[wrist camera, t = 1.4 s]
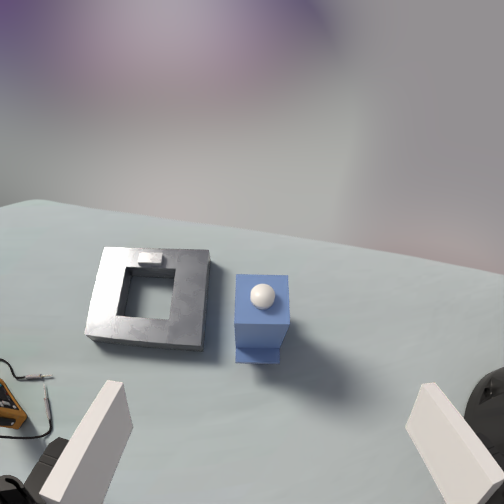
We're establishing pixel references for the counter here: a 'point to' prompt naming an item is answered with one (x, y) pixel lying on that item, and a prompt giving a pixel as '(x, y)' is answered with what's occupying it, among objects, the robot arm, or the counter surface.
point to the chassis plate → (146, 329)
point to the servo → (260, 317)
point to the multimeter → (16, 408)
